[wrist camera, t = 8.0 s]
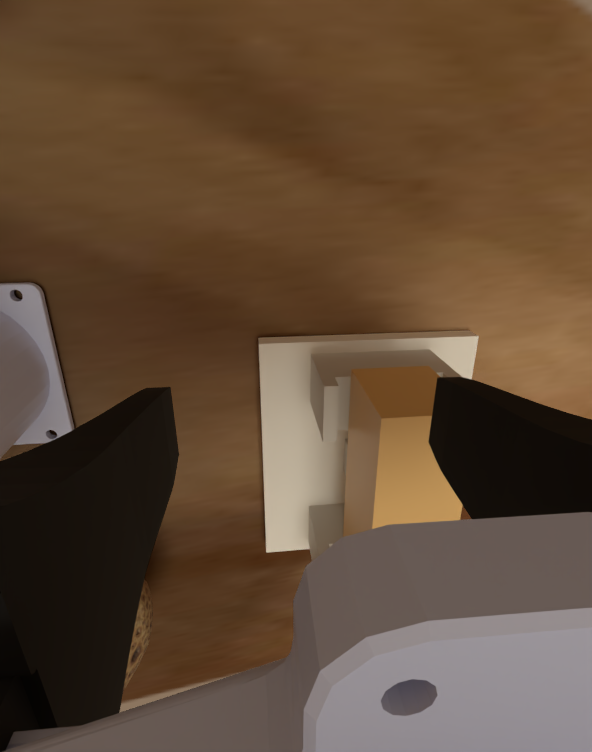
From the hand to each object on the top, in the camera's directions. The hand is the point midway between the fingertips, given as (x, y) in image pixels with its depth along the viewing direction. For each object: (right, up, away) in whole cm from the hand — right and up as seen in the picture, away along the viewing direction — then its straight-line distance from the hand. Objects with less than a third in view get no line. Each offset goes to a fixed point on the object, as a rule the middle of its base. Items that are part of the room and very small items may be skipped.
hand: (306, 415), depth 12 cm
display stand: (+3, -3, +13) cm, 14 cm away
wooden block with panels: (+4, -4, +9) cm, 11 cm away
